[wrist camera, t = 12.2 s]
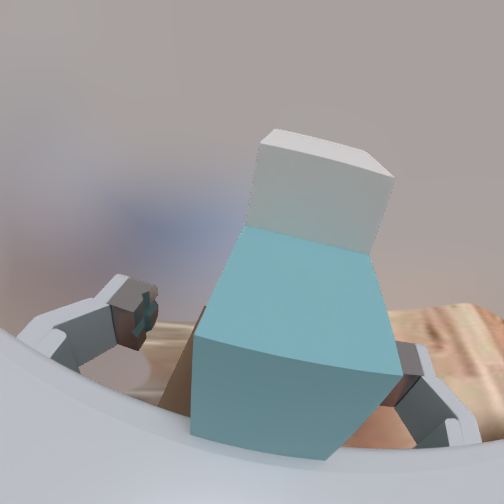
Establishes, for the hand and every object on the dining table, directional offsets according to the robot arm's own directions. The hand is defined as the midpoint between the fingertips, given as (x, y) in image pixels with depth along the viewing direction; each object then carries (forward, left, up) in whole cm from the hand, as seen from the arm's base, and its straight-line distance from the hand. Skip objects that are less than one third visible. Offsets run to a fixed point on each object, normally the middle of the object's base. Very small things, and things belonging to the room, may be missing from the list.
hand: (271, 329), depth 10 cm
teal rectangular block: (0, -1, -8) cm, 9 cm away
